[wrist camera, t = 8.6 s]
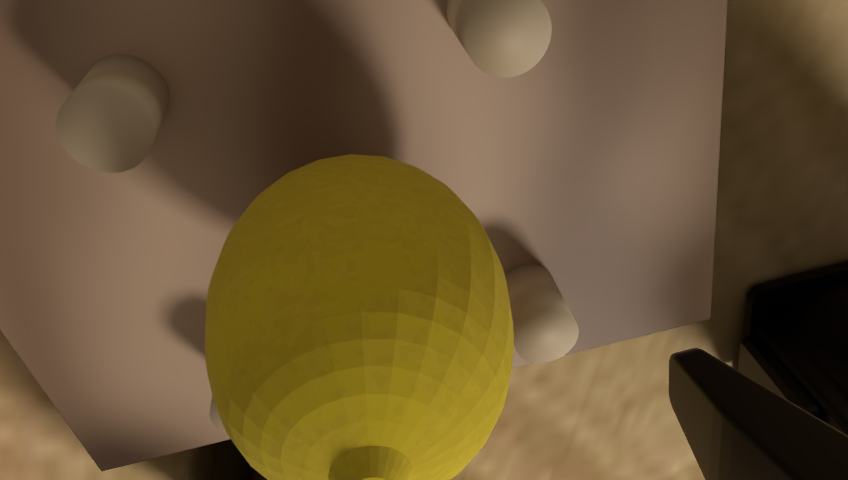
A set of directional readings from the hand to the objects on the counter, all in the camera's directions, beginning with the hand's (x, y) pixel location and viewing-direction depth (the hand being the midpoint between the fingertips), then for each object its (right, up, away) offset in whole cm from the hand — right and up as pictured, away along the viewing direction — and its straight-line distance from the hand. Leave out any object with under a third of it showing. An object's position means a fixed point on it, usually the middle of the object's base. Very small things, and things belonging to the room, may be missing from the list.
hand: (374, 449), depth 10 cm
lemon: (-1, +4, +6) cm, 8 cm away
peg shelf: (-2, +6, +10) cm, 12 cm away
